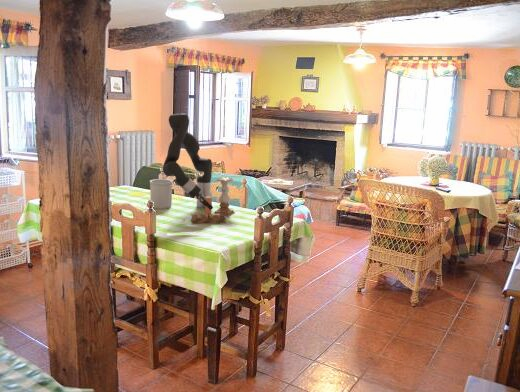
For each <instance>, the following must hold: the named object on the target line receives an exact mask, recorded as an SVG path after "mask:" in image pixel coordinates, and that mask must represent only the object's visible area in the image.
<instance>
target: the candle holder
mask: <svg viewBox="0 0 520 392" xmlns="http://www.w3.org/2000/svg"><path fill="white" fill-rule="evenodd" d="M216 181H217V182H220V184H221V187H220V190H221V193H220V196H219V198H218V202H219V203H220V204H219V205H218V206H219V208H218V209H216V210H215V211H214V213H213V214H224V217H230V216H233V214H236V212H235V211H234V209H231V208H230V204H229V203H230V201H231V197H230V196H229V194H228V191H229V187H228V185H229V183H230V182H233V181H234V178H233V177H217V178H216Z"/></svg>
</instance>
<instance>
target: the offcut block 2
mask: <svg viewBox="0 0 520 392" xmlns="http://www.w3.org/2000/svg"><path fill="white" fill-rule="evenodd" d="M209 218H220V214H214V213H211V214H209Z"/></svg>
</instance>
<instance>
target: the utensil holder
mask: <svg viewBox="0 0 520 392" xmlns="http://www.w3.org/2000/svg"><path fill="white" fill-rule="evenodd" d="M149 187H150V188H149V190H150V192H149V194H150V201H151V200H152V201H153V202H154V208H153V209H160V210H162V209H169V208H171V207H172V204H173V203H172V200H173V199H172V198H173V180H171V179H167V178H155V179H151V180H149Z"/></svg>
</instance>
